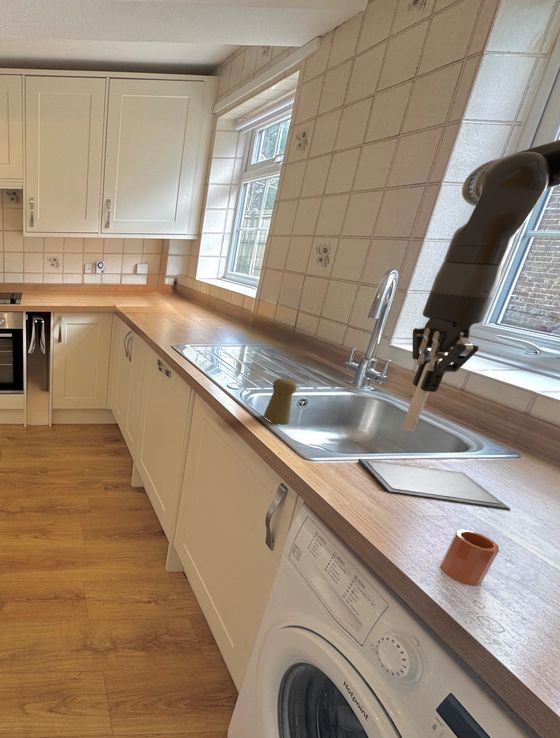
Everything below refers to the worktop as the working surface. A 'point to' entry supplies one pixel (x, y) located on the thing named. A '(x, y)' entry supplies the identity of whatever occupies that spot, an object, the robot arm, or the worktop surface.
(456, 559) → the pen cup
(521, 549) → the worktop surface
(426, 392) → the beige wooden rod
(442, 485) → the tablet
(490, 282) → the robot arm
